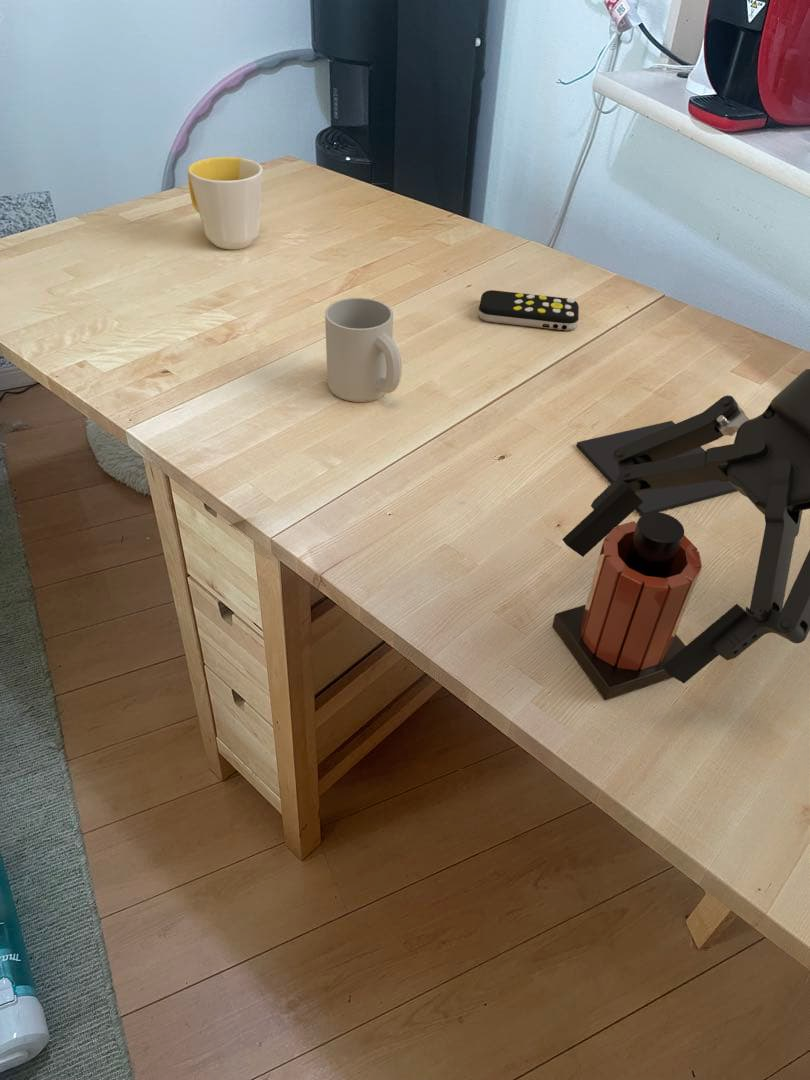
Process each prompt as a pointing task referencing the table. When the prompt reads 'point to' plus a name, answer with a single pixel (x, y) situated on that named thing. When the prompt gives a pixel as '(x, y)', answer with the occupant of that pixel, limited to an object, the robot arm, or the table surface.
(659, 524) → the post stand
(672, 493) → the mat
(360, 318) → the cup
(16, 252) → the table surface
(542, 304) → the remote control
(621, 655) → the sleeve ring
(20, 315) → the table surface
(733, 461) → the robot arm
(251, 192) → the mug
